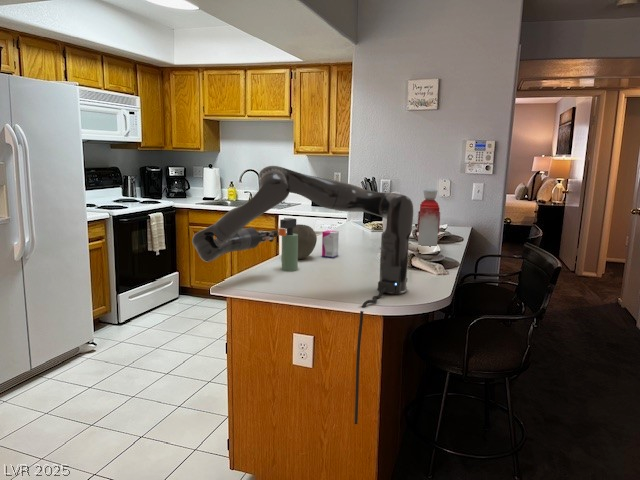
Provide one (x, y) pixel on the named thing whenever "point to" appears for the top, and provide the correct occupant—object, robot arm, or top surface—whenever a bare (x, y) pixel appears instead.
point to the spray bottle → (289, 245)
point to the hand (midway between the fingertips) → (276, 233)
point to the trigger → (282, 232)
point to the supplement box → (330, 244)
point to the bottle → (428, 219)
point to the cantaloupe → (305, 240)
